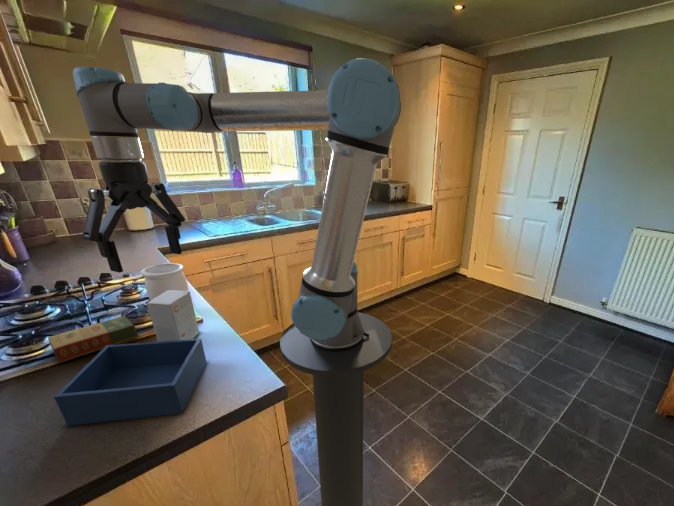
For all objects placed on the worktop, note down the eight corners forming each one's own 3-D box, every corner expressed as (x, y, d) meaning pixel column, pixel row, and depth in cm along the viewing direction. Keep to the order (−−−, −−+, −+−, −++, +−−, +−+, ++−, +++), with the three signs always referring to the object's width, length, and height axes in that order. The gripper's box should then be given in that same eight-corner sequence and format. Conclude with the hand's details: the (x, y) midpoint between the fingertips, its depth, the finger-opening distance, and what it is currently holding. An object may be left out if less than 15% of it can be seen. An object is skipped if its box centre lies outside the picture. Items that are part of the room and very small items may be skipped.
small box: (178, 331, 92) (167, 289, 87) (200, 332, 92) (190, 290, 87) (158, 347, 85) (145, 302, 80) (182, 349, 84) (170, 304, 79)
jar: (145, 318, 98) (131, 271, 92) (175, 304, 107) (164, 260, 101) (172, 324, 95) (160, 277, 89) (201, 309, 104) (191, 265, 98)
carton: (53, 350, 82) (46, 336, 80) (129, 327, 94) (125, 313, 92) (59, 364, 77) (52, 349, 76) (138, 337, 89) (134, 323, 87)
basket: (206, 362, 80) (201, 338, 77) (182, 413, 65) (174, 385, 62) (115, 370, 76) (106, 345, 73) (67, 426, 61) (53, 397, 58)
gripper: (166, 158, 77) (185, 245, 86) (30, 161, 56) (73, 277, 64) (190, 159, 75) (207, 249, 83) (57, 164, 53) (98, 283, 62)
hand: (149, 261), depth 74 cm, fingers open, 13 cm apart
